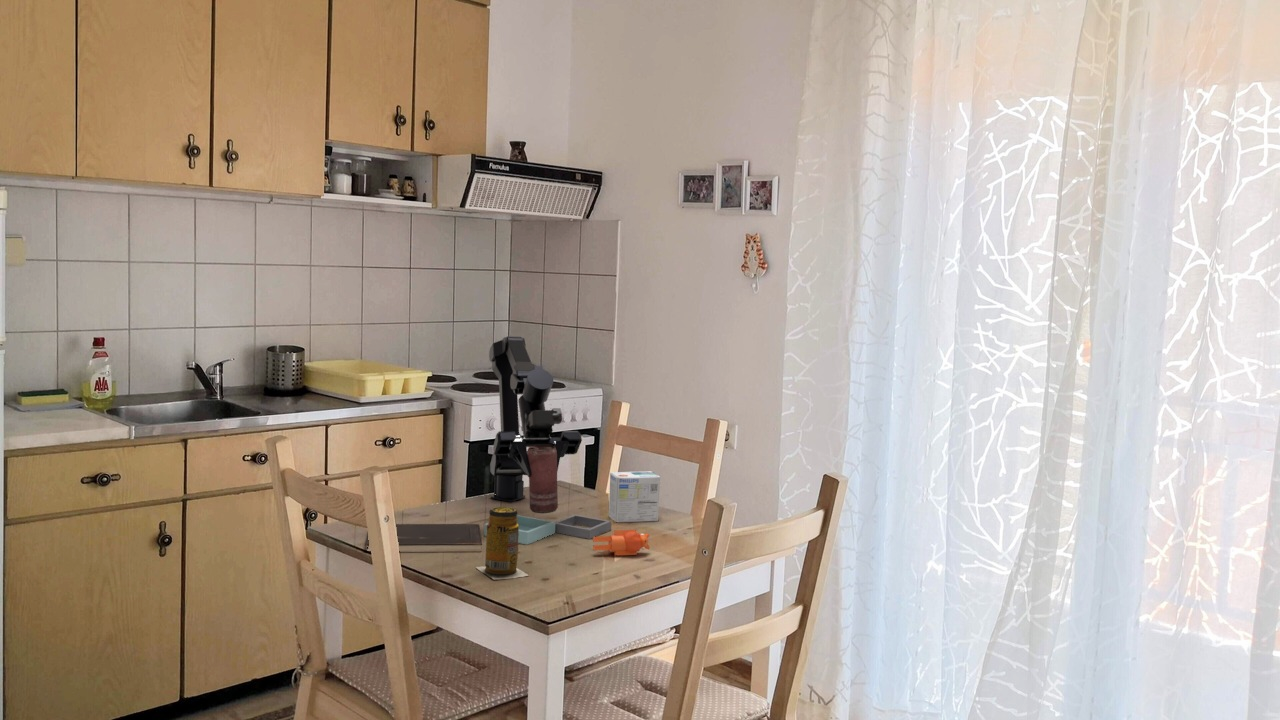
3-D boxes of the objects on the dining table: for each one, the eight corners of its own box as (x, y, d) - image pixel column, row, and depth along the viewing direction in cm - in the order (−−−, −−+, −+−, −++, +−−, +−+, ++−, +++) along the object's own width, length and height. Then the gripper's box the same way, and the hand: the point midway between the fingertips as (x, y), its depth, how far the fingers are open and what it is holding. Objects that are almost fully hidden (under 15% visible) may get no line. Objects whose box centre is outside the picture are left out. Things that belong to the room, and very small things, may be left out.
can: (528, 505, 225) (527, 443, 223) (557, 505, 226) (556, 443, 224) (528, 514, 219) (526, 450, 217) (557, 513, 220) (556, 450, 218)
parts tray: (484, 536, 219) (484, 524, 219) (513, 525, 229) (513, 514, 228) (527, 544, 214) (527, 532, 214) (555, 533, 224) (555, 521, 224)
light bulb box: (649, 514, 245) (652, 470, 244) (659, 521, 239) (661, 476, 238) (607, 515, 242) (609, 471, 241) (615, 523, 236) (617, 477, 235)
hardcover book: (481, 554, 207) (482, 543, 207) (364, 555, 203) (364, 544, 203) (478, 533, 223) (479, 522, 223) (369, 533, 218) (370, 523, 218)
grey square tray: (551, 531, 225) (552, 523, 225) (574, 523, 234) (574, 514, 233) (589, 539, 221) (589, 530, 221) (610, 529, 229) (611, 521, 229)
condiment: (510, 564, 200) (512, 504, 199) (529, 576, 193) (531, 514, 192) (475, 568, 196) (477, 507, 195) (493, 581, 189) (495, 517, 188)
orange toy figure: (596, 530, 207) (653, 528, 210) (588, 532, 214) (643, 531, 217) (596, 555, 206) (654, 553, 209) (588, 557, 213) (644, 555, 216)
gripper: (498, 394, 220) (506, 455, 211) (581, 395, 226) (593, 454, 217) (489, 424, 228) (497, 484, 219) (570, 424, 235) (581, 482, 225)
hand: (542, 475), depth 220 cm, fingers closed on can, 5 cm apart
